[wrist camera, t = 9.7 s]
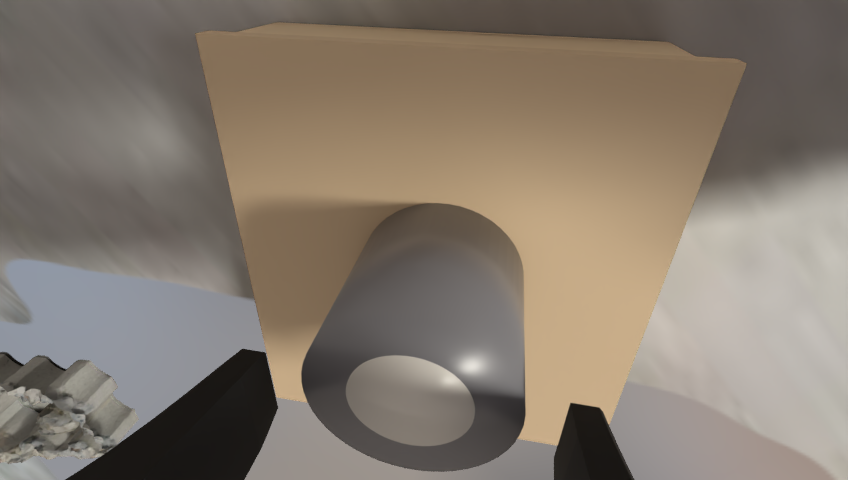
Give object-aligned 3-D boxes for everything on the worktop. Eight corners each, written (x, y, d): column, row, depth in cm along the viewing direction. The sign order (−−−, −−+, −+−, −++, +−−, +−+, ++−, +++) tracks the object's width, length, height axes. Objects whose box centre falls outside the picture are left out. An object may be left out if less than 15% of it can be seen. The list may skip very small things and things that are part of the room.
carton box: (668, 41, 14) (715, 66, 11) (576, 360, 21) (587, 434, 18) (276, 22, 16) (210, 38, 12) (317, 321, 23) (282, 382, 20)
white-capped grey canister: (515, 194, 13) (514, 312, 8) (530, 334, 15) (533, 479, 11) (344, 211, 14) (268, 320, 10) (383, 337, 16) (336, 468, 12)
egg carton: (30, 412, 35) (-24, 462, 31) (-23, 340, 31) (-92, 388, 27) (152, 433, 33) (108, 489, 29) (112, 360, 29) (56, 414, 25)
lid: (735, 58, 10) (747, 63, 10) (596, 439, 18) (598, 452, 18) (208, 30, 12) (194, 33, 12) (282, 386, 20) (276, 397, 19)
